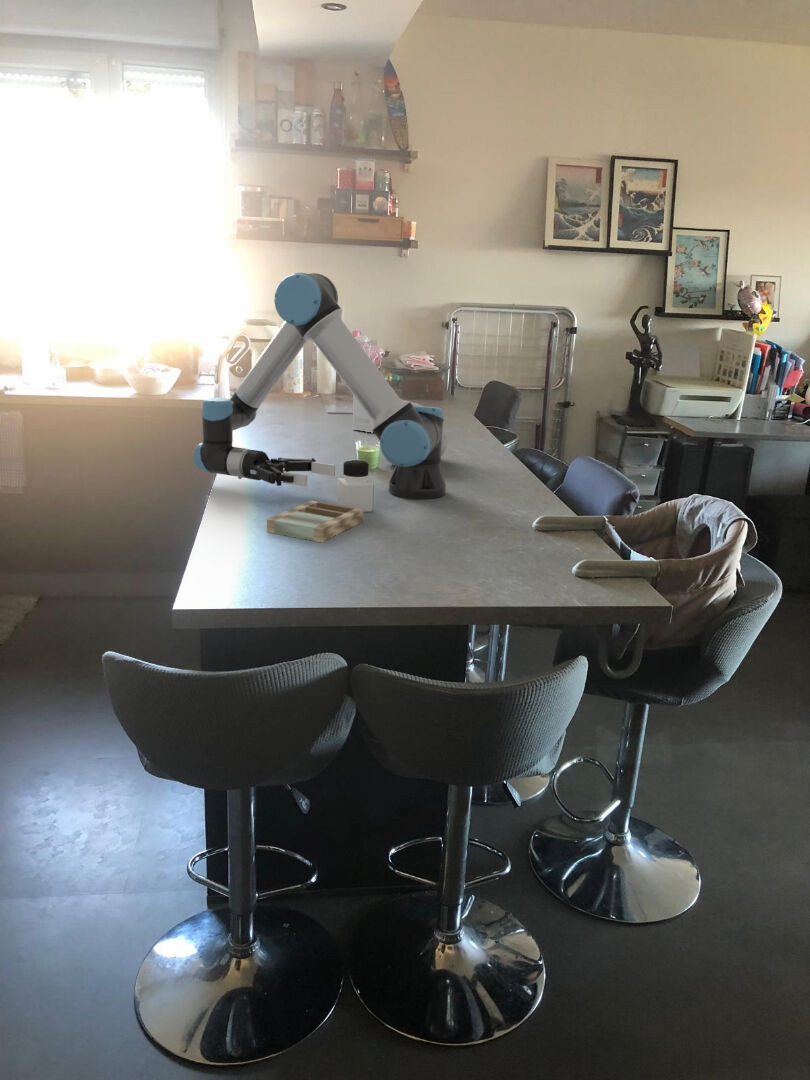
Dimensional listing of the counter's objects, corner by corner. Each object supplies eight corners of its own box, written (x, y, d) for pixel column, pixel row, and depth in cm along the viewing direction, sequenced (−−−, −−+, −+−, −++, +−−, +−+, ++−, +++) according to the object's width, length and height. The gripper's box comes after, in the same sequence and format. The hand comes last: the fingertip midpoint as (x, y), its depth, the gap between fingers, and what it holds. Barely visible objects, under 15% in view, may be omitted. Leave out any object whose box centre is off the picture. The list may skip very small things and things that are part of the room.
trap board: (311, 512, 208) (311, 500, 207) (363, 521, 202) (363, 509, 201) (266, 532, 191) (266, 519, 190) (321, 542, 186) (322, 529, 185)
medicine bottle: (373, 511, 211) (375, 463, 207) (345, 513, 208) (346, 464, 205) (363, 504, 217) (365, 457, 214) (336, 506, 215) (337, 458, 211)
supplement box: (386, 430, 317) (387, 389, 312) (372, 433, 309) (373, 391, 305) (365, 427, 321) (366, 386, 317) (351, 430, 314) (352, 388, 309)
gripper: (275, 469, 235) (344, 480, 227) (219, 487, 213) (293, 500, 205) (275, 442, 233) (345, 452, 224) (219, 457, 211) (294, 469, 203)
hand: (321, 475), depth 215 cm, fingers open, 13 cm apart
